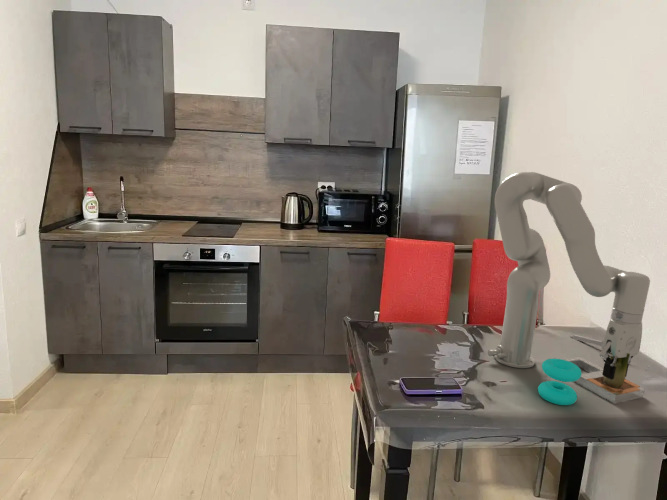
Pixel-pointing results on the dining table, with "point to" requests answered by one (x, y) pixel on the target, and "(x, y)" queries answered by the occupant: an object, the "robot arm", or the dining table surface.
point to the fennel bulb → (618, 373)
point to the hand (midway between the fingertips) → (614, 375)
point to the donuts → (555, 389)
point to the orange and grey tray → (598, 386)
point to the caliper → (587, 340)
